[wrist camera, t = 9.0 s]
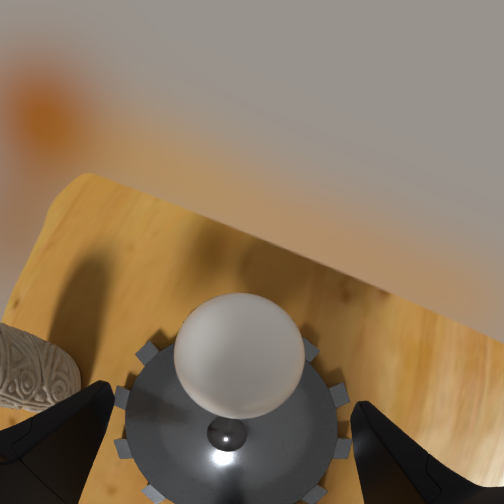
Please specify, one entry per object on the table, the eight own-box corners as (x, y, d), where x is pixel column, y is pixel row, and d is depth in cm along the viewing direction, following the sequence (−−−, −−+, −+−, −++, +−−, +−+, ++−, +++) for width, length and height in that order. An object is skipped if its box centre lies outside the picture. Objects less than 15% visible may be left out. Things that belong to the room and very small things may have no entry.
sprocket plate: (384, 445, 17) (394, 449, 16) (198, 546, 12) (194, 555, 11) (264, 280, 25) (264, 271, 23) (88, 379, 20) (77, 377, 18)
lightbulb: (262, 422, 18) (272, 453, 8) (188, 384, 19) (128, 371, 9) (299, 351, 20) (341, 309, 11) (227, 316, 22) (206, 247, 12)
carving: (59, 332, 22) (-24, 287, 12) (100, 386, 20) (6, 367, 9) (31, 371, 20) (-52, 342, 9) (68, 425, 18) (-24, 423, 7)
